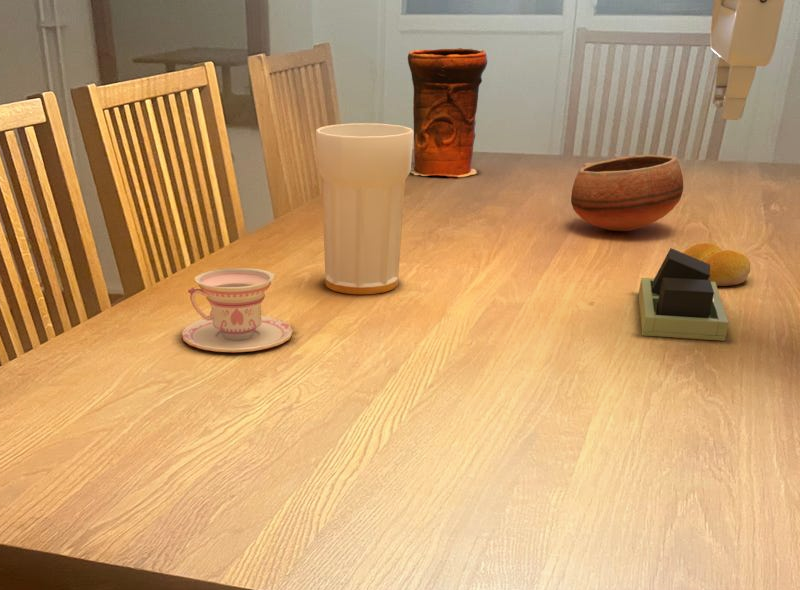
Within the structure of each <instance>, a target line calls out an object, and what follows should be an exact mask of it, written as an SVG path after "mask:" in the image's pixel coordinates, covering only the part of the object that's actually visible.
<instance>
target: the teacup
mask: <svg viewBox="0 0 800 590" xmlns="http://www.w3.org/2000/svg"><path fill="white" fill-rule="evenodd" d="M273 280H275V274H274V273H273V272H271V271H268V270H265V269H261V268H251V267H227V268H220V269H213V270H209V271H205V272H202V273H200V274H198V275H196V276H195V277H194V282H195V283H196V284H197V285H198V287H199V288H195V287H190V289H188V290H187V292H188V294H190V295H189V298H190V301H191V304H192V307H193V308H194V310H195V311H196V312H197V313H198V314H199V316H201V318H202V319H200V320H196V321H194V322H192V323H190V324H188V325H186V327H185V328H184V329H183V330H182V331H181V336H182V340H183V342H185V343H186V344H188V345H189V346H191V347H194V348H197V349H200V350H205V351H211V352H215V353H216V352H217V353H246V352H256V351H261V350H267V349H271V348H274V347H277V346H280V345H282V344H284V343H286V342H287V341H289V340H290V339H291V337H292V335H293V332H294V331H293V329H292V327H291V325H290V324H289V323H287V322H286V321H284V320H281V319H278V318H275V317H272V316H267V315H262V304H263V301H264V299H265V298H266V295H265V292H267V290H268V289H269V288H270V286H271V284H272V281H273ZM198 294H199V295H202V296H204V297H205V298H206V300H207V301H208V303H209V304H210V308H211V309H210V312H209V315H206V314H205V313H204V312H203V311H202V310H201V309H200V307H199V306H198V304H197V302H196V296H197V295H198Z"/></svg>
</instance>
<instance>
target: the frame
mask: <svg viewBox="0 0 800 590" xmlns="http://www.w3.org/2000/svg"><path fill="white" fill-rule="evenodd" d="M654 278H655V277H641V278H640V283H639V289H638V295H637V296H638V305H639V316H640V325H641V326H640V327H641V335H642V336H646V337H660V338H661V337H662V338H676V339H689V340H691V339H692V340H704V341H721V342H725V341H726V336H727V332H728V329H729V325H730V322H729V318H728V315H727V313H726V309H725V306H724V304H723V300H722V298H721V295H720V292H719V288H718V286H716V283H715V282H711V285H712V288H713V291H714V295H713V300H712V304H711V309H710V313H709V318H694V317H679V316H663V315H656V310H657V305H658V300H659V295H658V294H655V293H653V292H651V290H652V286H653V281H654Z"/></svg>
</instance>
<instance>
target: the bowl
mask: <svg viewBox="0 0 800 590" xmlns="http://www.w3.org/2000/svg"><path fill="white" fill-rule="evenodd" d="M683 193H684V177H683V172H682V168H681V165H680V162H679V160H678V159H677V158H676V157H675V156H671V155H662V154H643V155H641V154H637V155H636V154H635V155H627V156H621V157H617V158H616V157H615V158H613V159H607V160H602V161H601V160H600V161H596V162H593V161H592V162H586V163H584V164H583V166H582V167H581V168H580V169H579V170H578V172H577V173H576V176H575V179H574V182H573V184H572V189H571V195H570V196H571V197H570V203H571V206H572V208H573V212H574V213H576V214H577V215H578V216H579V218H581V219H582V220H583V221H585V222H586V223H588V224H590V225H592V226H594V227H597V228H600V229H603V230H608V231H613V232H630V231H634V230H635V231H636V230H638V229H641V228H644V227H647V226H649V225H651V224H653V223H655V222H657V221H659V220H661V219H662V218H664V217H666V216H667V215H668V214H669V213H671V211H673V210H674V209H675V207H676V206H677V205H678V204H679V202H680V201H681V199H682V196H683Z"/></svg>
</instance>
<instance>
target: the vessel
mask: <svg viewBox="0 0 800 590" xmlns="http://www.w3.org/2000/svg"><path fill="white" fill-rule="evenodd" d="M407 63H408V67H409V70H410V74H411V81H412V86H413V87H412V88H413V100H412V101H413V102H412V103H413V104H412V105H413V106H412V107H413V109H412V113H413V114H412V115H413V131H414V134H413V155H414V156H413V157H414V165H413V164H411V172H410V174H413V175H414V176H422V177H428V176H441V177H443V176H444V177H445V176H446V177H448V178H464V177H470V176H473V175H476V174H478V172H477V170H476V169H475V168H472V163H473V153H474V146H475V145H474V144H475V140H476V132H475V131H476V130H475V128H476V124H477V121H476V115H477V111H478V101H479V91H480V85H481V84H482V83H483V80H482V75H483V73H484V72H485V70H486V68H487V65H488V56H487V53H486V51H485V50H484V49H481V50H478V49H473V48H461V47H459V48H458V47H457V48H438V49H417V50H416V49H413V50H411V51H409V52H408V55H407Z"/></svg>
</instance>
